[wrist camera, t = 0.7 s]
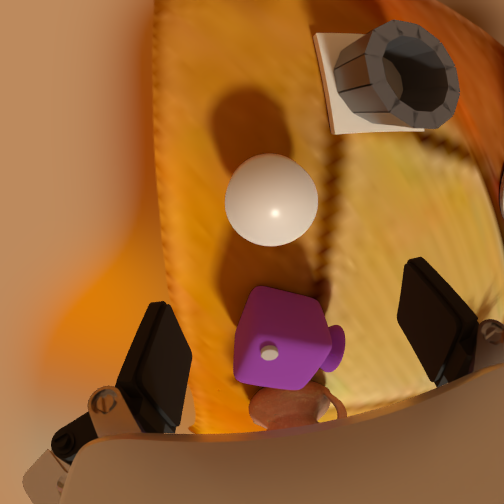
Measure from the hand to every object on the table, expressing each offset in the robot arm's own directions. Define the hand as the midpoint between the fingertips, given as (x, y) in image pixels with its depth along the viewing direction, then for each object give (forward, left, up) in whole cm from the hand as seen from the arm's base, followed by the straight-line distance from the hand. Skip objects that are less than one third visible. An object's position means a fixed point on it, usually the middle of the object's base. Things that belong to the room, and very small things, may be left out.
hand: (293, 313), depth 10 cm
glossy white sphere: (0, 0, -20) cm, 20 cm away
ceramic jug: (+1, +37, -21) cm, 42 cm away
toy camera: (0, +18, -21) cm, 27 cm away
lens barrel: (-13, -10, -20) cm, 26 cm away
